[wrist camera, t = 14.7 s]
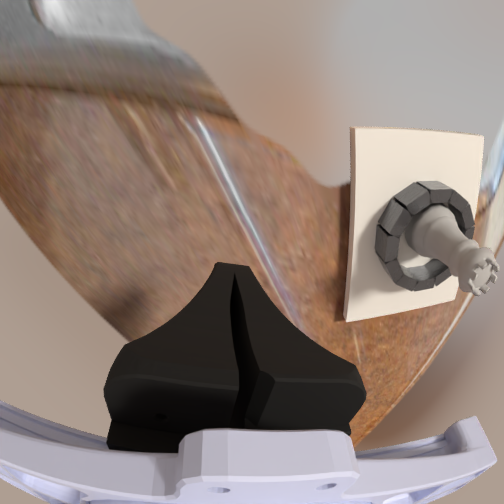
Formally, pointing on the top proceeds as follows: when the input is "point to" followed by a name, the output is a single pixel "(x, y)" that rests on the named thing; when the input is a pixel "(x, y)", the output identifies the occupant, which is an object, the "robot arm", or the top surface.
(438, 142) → the mount plate
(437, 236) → the rook chess piece
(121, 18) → the top surface
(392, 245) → the segmented grey ring
